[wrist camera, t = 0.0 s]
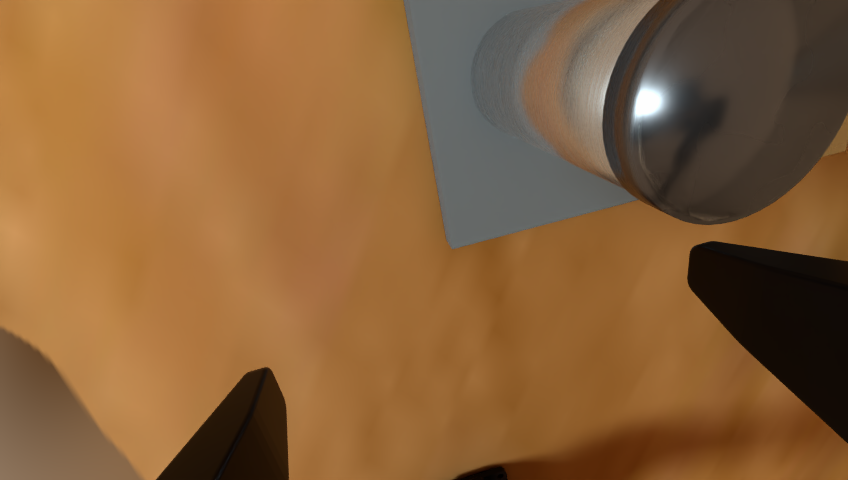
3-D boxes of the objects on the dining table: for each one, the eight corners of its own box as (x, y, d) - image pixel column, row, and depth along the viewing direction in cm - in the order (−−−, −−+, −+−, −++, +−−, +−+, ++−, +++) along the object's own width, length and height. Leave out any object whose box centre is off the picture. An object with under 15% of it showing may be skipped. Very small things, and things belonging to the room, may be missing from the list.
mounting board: (770, 154, 27) (789, 159, 26) (446, 240, 24) (452, 249, 23) (820, -129, 21) (846, -138, 20) (394, -51, 18) (399, -57, 17)
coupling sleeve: (584, 122, 22) (831, 193, 11) (476, 148, 21) (630, 250, 11) (582, -7, 20) (896, -71, 9) (460, 19, 19) (638, -18, 8)
